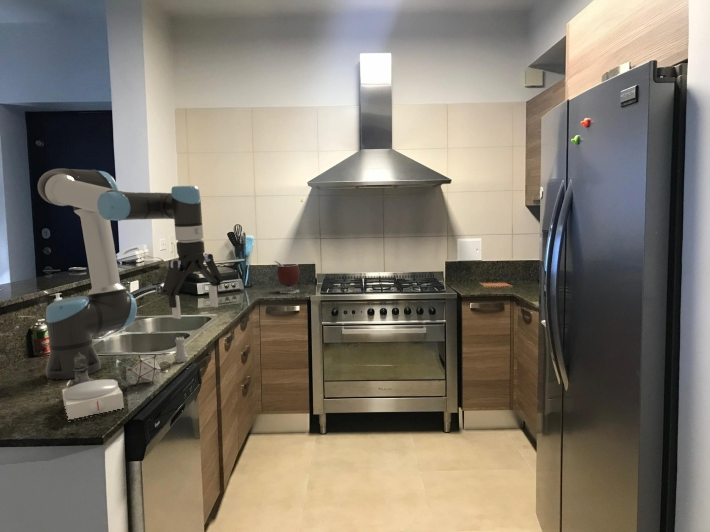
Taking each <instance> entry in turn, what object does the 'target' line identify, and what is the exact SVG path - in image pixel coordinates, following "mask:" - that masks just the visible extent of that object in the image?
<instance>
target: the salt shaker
mask: <svg viewBox="0 0 710 532" xmlns="http://www.w3.org/2000/svg"><path fill="white" fill-rule="evenodd" d="M74 366H75V368H74V369H73V370H74V371H75V378H74V381H71V382H70V384H69V386H70V387H72V386H74V385H77V384H80V383H84V382H88V381H94V380H95V378H92V377H91V378H90V377H89V375H88V371H87V369H88V367H87V365H86V357H85V356H84V355H81V354H80V352H78V355H77V356H76V357H75V358H74Z"/></svg>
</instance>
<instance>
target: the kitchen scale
mask: <svg viewBox="0 0 710 532" xmlns="http://www.w3.org/2000/svg"><path fill="white" fill-rule="evenodd" d="M62 399H63V407H64V406H65V407H64V410H65V409H66V410H65V414H66V413H67V414H66V417H67V416H68V418H67V421H68V420H69V419H74V418H79V417H84V416H88V415H93V414H99V413H103V412H107V413H109V412H108V411H111V412H114V411H113V410H116V411H118V410H117V409H120V410H123V409H122V408H124V409H125V403H124V395H123V391H122V390H121V388H120V387H119V384H118V381H117V380H115V379H114V378H113V379H96V380H95V379H94V381H88V382H84V383H80V384H77V385H74V386H72V387H71V386H70V387H68V388H63V389H62ZM103 414H104V413H103ZM99 415H100V414H99Z"/></svg>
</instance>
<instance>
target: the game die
mask: <svg viewBox="0 0 710 532" xmlns="http://www.w3.org/2000/svg"><path fill="white" fill-rule="evenodd" d="M137 356H138V359H137V360H136V362H134V364H133V365H132V367H131V368H128V369H126V370H127V371H131V373H132V375H133V377H134V379H135V381H136V383H135V385H136V386H137V385H139V383H151V384H152V385H155V382H154V381H155V379H156V378H157V377H158V376H159V374H160V372H161V371H162V372H163V371H165V369H164V368H162V367H161V365H160V364H159V362H158V361H157V359H156V357H157V354H154V355H153V356H145V357H143V356H142V357H141V355H139V354H138V355H137Z"/></svg>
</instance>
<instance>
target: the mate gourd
mask: <svg viewBox="0 0 710 532" xmlns="http://www.w3.org/2000/svg"><path fill="white" fill-rule="evenodd" d="M274 263H276V264H277V268H276V269H277V270H276V276H277V280H278V282H279V283H280V285H282V286H285V287H286V289H284V290H280V291H279V294H282V293H290V294H296V292H297V293H300V290H299V289H293V286H294V285H296V284H298V282H299V280H300V275H301V274H300V272H301V271H300V267H299V264H298V263H286V264H282V263H281V262H279V261H276V260H274Z"/></svg>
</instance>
